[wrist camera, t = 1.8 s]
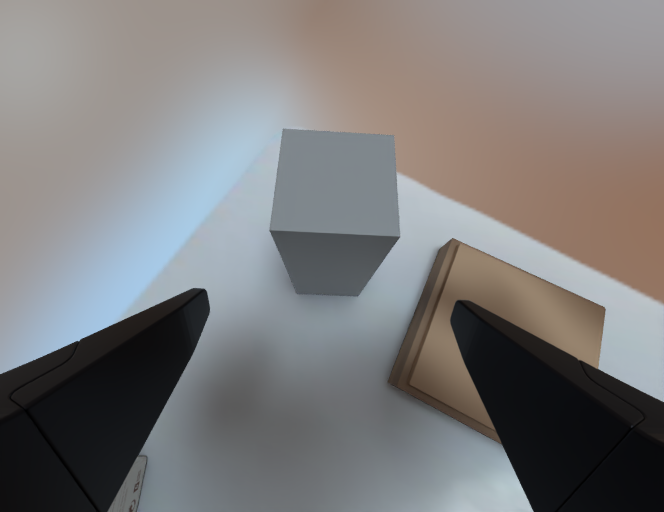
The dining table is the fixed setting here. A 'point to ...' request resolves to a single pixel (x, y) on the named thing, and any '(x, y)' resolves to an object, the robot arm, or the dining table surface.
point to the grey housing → (334, 208)
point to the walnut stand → (499, 298)
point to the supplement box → (130, 488)
